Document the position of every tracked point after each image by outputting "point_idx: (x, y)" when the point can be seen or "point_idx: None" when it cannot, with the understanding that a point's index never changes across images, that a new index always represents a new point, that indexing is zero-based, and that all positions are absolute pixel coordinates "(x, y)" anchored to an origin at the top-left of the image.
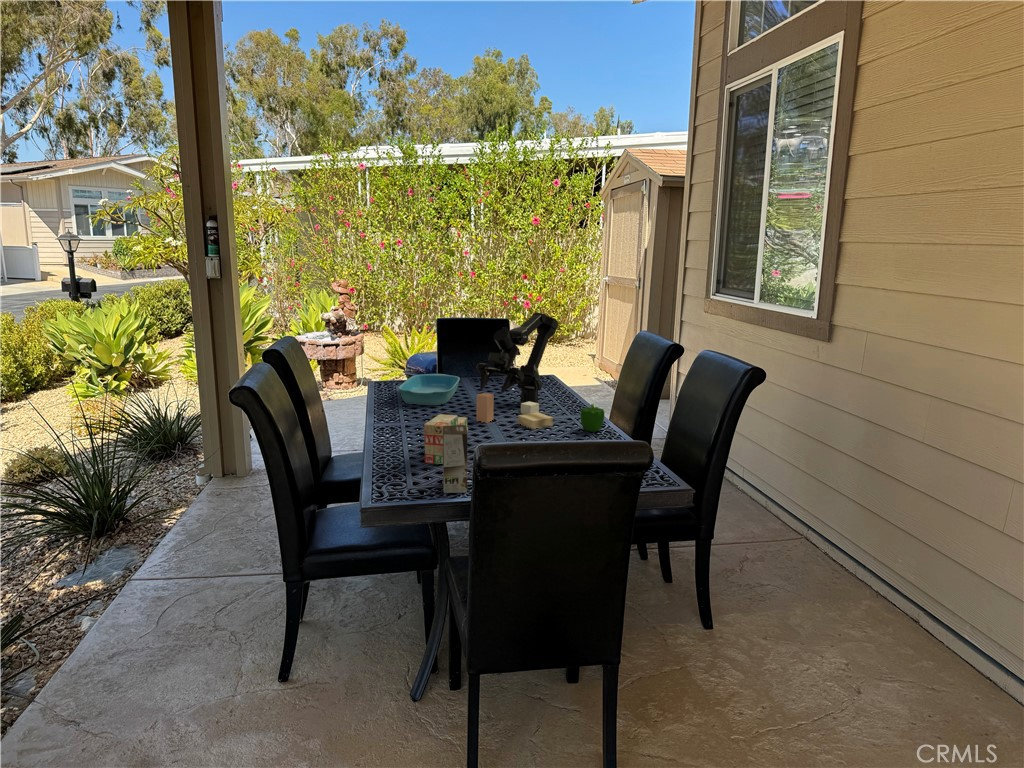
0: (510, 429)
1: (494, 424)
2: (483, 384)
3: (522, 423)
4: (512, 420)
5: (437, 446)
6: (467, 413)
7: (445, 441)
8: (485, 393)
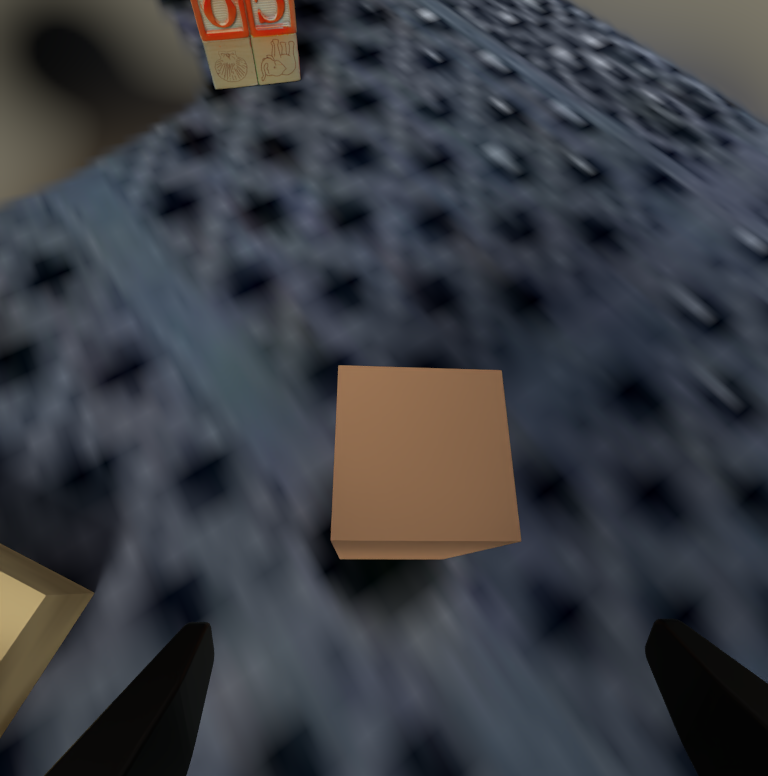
0: (101, 407)
1: (271, 458)
2: (727, 743)
3: (29, 564)
4: None
5: None
6: None
7: None
8: (464, 514)
